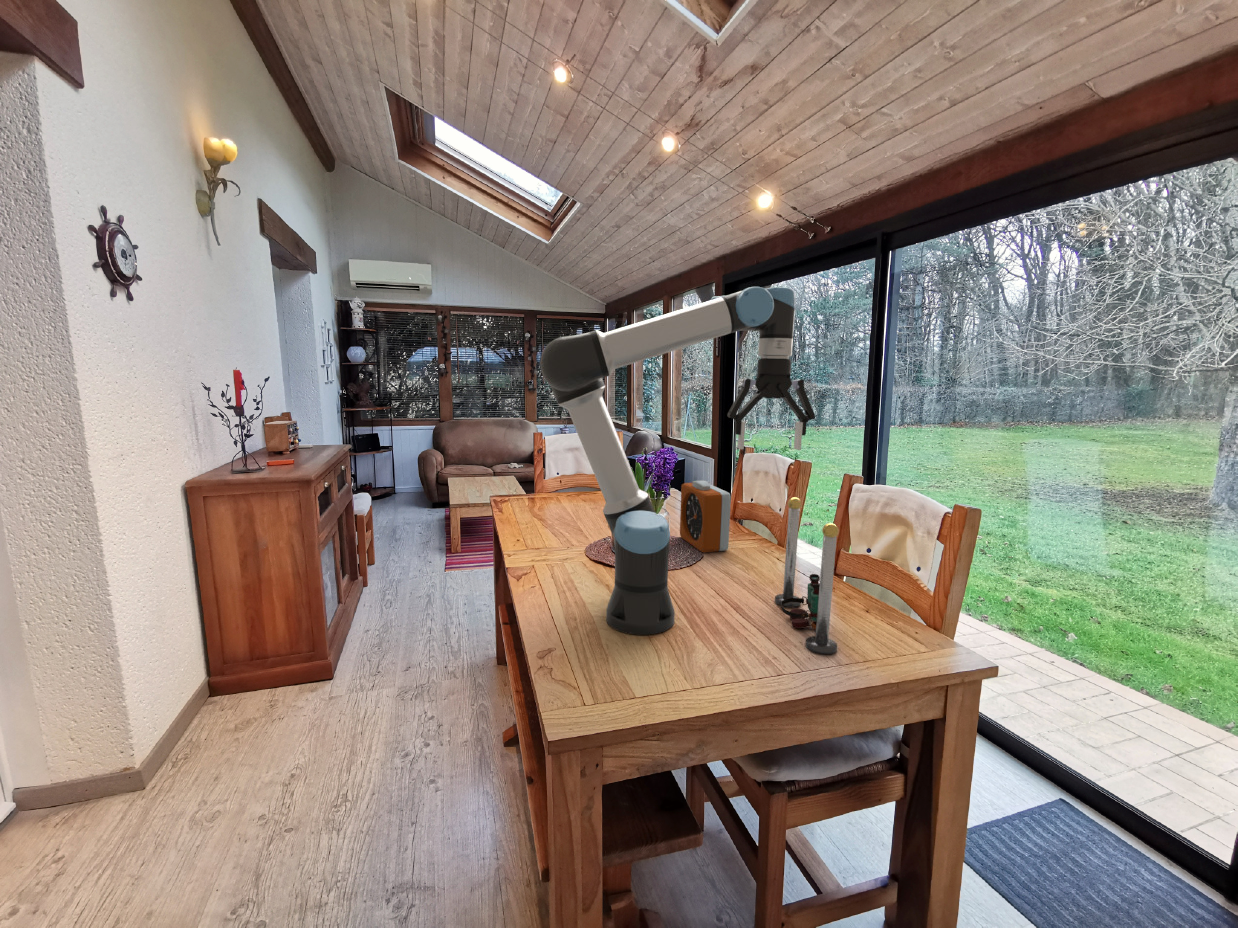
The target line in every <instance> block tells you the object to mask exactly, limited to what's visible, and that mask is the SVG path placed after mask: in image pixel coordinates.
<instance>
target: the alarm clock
mask: <svg viewBox="0 0 1238 928" xmlns="http://www.w3.org/2000/svg"><path fill="white" fill-rule="evenodd" d="M680 487H681V488H680V489H681V490H680V492H681V493H680V511H679V513H680V515H679V519H680V520H679V521H680V522H679V536H680V538H681V539H683V540H684V541H685V542H687V543H689V544H690V545H691V546H692V547H694V548H695V549H697V550H698V551H700V552H701V553H713V552H721V551H722V552H723V551H724V552H725V551H728V549H729V543H730V540H729V539H730V538H729V537H730V524H731V522H730V518H731V503H732V502H731V500H732V497H731V494H730V492H728V491H726V490H723V489H721V488H719V487H717V486H715V485H712V484H710V483H709V482H708V481H707V480H693V481H692V482H685V483H682V484H681V486H680Z"/></svg>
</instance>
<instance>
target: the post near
mask: <svg viewBox="0 0 1238 928" xmlns="http://www.w3.org/2000/svg"><path fill="white" fill-rule="evenodd" d="M821 532H822V535H823V536H822V538H823V540H822V550H821V563H820V575H819V577H820V580H819V584H820V586H819V599H818V612H817V624H816V629H815V635H813V636H808V637H807V638H806V639H805V643H804V645H805V648H806V649H807V650H808V651H809V652H811V653H813V654H816V655H821V656H832V655H834V654H836V653H837V652H838V643H837V642H835V641H834V640H833V639H831V638H829V634H830V633H829V631H830V622H831V609H832V608H831V607H832V597H833V595H832V594H833V586H834V573H835V570H834V569H835V561H836V560H835V559H836V551H837V550H836V549H837V538H838V537H837V536H838V535H839V532H840V529H839V527H838V526H837V525H836V524H835V523H833V522H828V523H826V524H825V525H823V526H822V531H821Z"/></svg>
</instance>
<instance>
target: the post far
mask: <svg viewBox="0 0 1238 928" xmlns="http://www.w3.org/2000/svg"><path fill="white" fill-rule="evenodd" d="M787 506H788V518H787V532H786V547H785V558H784V559H785V562H784V563H785V564H784V573H783V575H784V576H783V588H782V591H783V592H782V593H780V594H777V595H775V597H774V603H775V604H776V605H777V606H779V607H781V601H783V600H784V599H787V598H800V597H799V596H797V595H794V592H795V579H796V568H797V567H796V565H797V551H798V550H797V549H798V540H799V539H798V538H799V537H798V535H799V524H800V523H799V522H800V511H801V510H800V509H801V506H802V501H801V499H800V498H799V497H797V496H796V497H795V496H794V497H793V496H792V497H791V498H789V500H788V501H787ZM801 605H802V603H798V602H788V603H785V604H784V605H782V607H783V608H785V609H798V608H800V607H801Z"/></svg>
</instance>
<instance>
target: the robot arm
mask: <svg viewBox="0 0 1238 928" xmlns="http://www.w3.org/2000/svg"><path fill="white" fill-rule="evenodd" d="M796 299H797V298H796V291H795V290H794V289H793V288H792V287H784V286H783V287H782V286H779V287H767V288H764V287H762V286H761V287H760V286H751V287H750V286H749V287H746V288H743V290H740V291H737V292H734V293H730V294H727V295H720V296H719V295H718V296H717V295H715V296H712V297H711V299H710V300H707V301H705V302H701V303H698V304H694V305H691V306H688V307H685V308H682V309H677V310H674V311H672V312H671V311H670V312H668V313H666V314H665V313H664V314H661V315H659V316H655V317H652V318H649V319H648V318H647V319H646V320H642V321H638V322H635V323H632V324H629V325H626V326H622V327H619V328H615V329H612V330H609V331H605V332H602V331H600V330H598V329H595V330H592V331H589V332H586V333H585V332H584V333H581V334H576V335H568V336H561V337H557V338H555V339H553V340H552V341H550V342H549V343H548V344H547V345H546V346H545V347H544V349H543V351H542V353H541V355H540V360H539V364H540V371H541V374H542V377H543V378H544V380H545V382H546V383H547V384H548V385H549V386H550V387H551V390H552V392H553V395H554V397H555V400H556V403H557V404H558V406H560V407H562V408H564V409H566V411H568V413H569V416H570V419H571V421H572V423H573V424H572V425H573V426H574V429H575V431H576V433H577V436H578V438H579V440H580V442H581V445H582V447H583V451H584V452H585V456H586V457H587V461H588V462H589V465H590V467H591V469H592V472H593V474H594V476H595V479H596V481H597V484H598V487H599V489H600V492H601V493H602V494H601V495H602V496H603V499H604V501H605V505H604V507H603V509H602V513H603V515H604V517H605V520H606V522H607V525H608V527H609V530H610V532H611V535H612V538H613V545H614V585H613V586H614V587H613V589H612V592H611V595H610V598H609V601H608V603H607V607H606V609H605V610H606V611H605V612H606V613H605V614H606V617H605V619H606V623H607V624H608V625H609V627H611V628H612V629H614V630H616V631H618V632H621V633H623V634H624V633H625V634H628V635H634V636H635V635H638V636H647V635H656V634H660V633H664V632H665V631H667V630H669V629H671V628H672V627H673V626H674V624H675V617H676V615H675V614H676V613H675V608H674V606H673V605H674V604H673V602H672V598H671V596H670V592H669V589H668V587H669V586H668V583H669V582H668V579H669V578H668V576H669V550H670V549H669V545H670V544H669V543H670V538H671V531H670V525H669V522H668V520H667V518H665V516H663V515H661V514H657V513H656V510H655V508H654V506H653V503H652V500H651V499H650V496H649V493H648V492H646V491H644V490H642V489H640V488H639V485H638V483H637V480H636V478H635V475H634V472H633V470H632V467H631V465H630V462H629V459H628V457H627V455H626V453H625V450H624V446H623V444H622V442H621V440H620V437H619V434H618V433H617V430H616V426H615V425H614V423H613V420H612V417H611V415H610V413H609V409H608V407H607V405H606V402H605V400H604V397H603V394H604V391H605V388H606V384H605V382H604V379H603V378H606V377H607V378H608V377H610V376H612V374H613V372H614V371H615V370H616V369H619V368H622V367H626V366H628V365H633V364H635V363H639V362H642V361H645V360H648V359H652V358H654V357H655V358H656V357H658V356H660V355H661V356H662V355H665V354H668V353H671V352H674V351H677V350H680V349H684V348H687V347H690V346H693V345H696V344H700V343H703V342H707V341H710V340H712V339H716V338H719V337H723V336H726V335H729V334H734V333H736V332H739V331H741V332H742V331H743V332H745V331H746V332H747V331H748V332H749V331H750V332H751V331H752V332H759V335H758V336H759V337H758V339H759V340H758V350H757V351H758V352H757V355H758V357H760V358H758V360H757V369H756V379H750V378H747V377H745V378H743V379H742V384H741V389H740V391H738V394H737V395H736V398H735V399H734V401H733V403H732V405H731V407H730V408H729V410H728V412H727V415H726V416H727V417H728V418H729V419H732V420H733V421H734V430H733V431H734V434H735V435H737V437H738V438H737V448H738V449H739V450H745V448H744V447H745V446H744V445H745V434H746V433H745V430H746V421H744V420H743V419H744V418H745V417H746V416H747V415H748V414H749V412H751V410H752V409H753V408H754V407H755V406H756V405H757V404H758V403H759V402H760V401H761V400H762V399H763V398H764V399H777V400H778V399H783V400H784V401H785V403H786V404H787V406H788V407H789V408H790V410H791V411H792V412H793V414H794V415H795V416H796V418H797V419H798V420H797V421H795V426H794V428H795V429H794V442H793V449H794V450H797V451H800V450H802V442H803V441H802V440H803V436H806V434H807V424H808V422H809V421H812V420H815V419H816V414H815V412H814V409H813V407H812V405H811V402H810V400H809V397H808V395H807V391H806V389H805V381H804V380H803V379H800V378H797V379H794V380H792V379H791V374H792V373H791V372H792V359H791V358H790V357H792V355H793V344H794V342H793V341H794V328H795V318H796V316H795V314H796V311H797V309H796V308H797V307H796ZM753 386H755V388H756V389H757V390H756V392H755V393H754V394H753V395H752V397H751V398H750V399H749V400H748V401H747V402H746V403H745V404H744V405H743V407H742V408H741V409H740V407H741V405H742V404H743V402H744V401H745V398H746V397H747V395H748V393H749V391H750V389H752V388H753ZM791 387H793V389H794V390H795V392H796V394H797V397H798V399H799V401H800V404H801V406H802V409H803V410H802V409H801V408H800V406H799V405H798V404H797V402H796V401H795V400H794V398H793V397H792V395H791V394H790V392H789V389H790V388H791ZM739 409H740V410H739ZM803 411H804V412H803Z"/></svg>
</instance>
